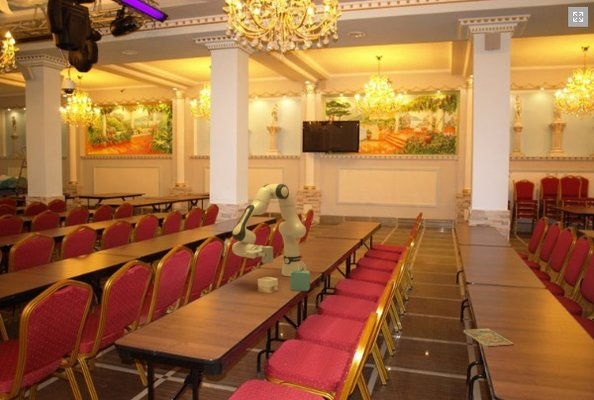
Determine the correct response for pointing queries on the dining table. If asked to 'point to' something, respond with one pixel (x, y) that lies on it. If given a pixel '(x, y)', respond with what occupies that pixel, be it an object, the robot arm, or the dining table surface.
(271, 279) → the tower block upper
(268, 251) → the grey column
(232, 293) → the dining table surface
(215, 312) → the dining table surface
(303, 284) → the data package
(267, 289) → the tower block lower
